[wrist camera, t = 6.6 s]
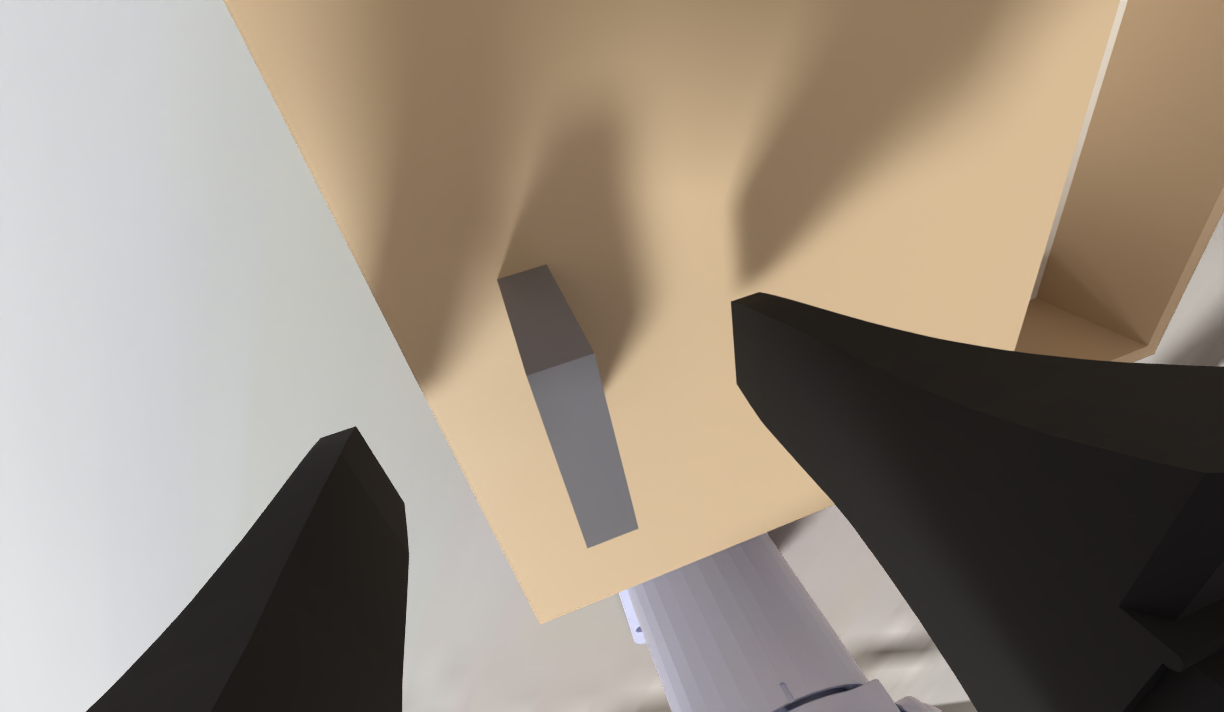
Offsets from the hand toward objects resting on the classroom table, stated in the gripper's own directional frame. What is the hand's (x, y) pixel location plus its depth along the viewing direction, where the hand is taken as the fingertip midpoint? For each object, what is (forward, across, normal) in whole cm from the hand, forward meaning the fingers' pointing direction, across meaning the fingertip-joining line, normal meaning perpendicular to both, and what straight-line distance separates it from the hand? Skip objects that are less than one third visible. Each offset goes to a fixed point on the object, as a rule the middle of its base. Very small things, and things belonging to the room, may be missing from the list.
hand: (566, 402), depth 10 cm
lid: (+2, -6, 0) cm, 6 cm away
